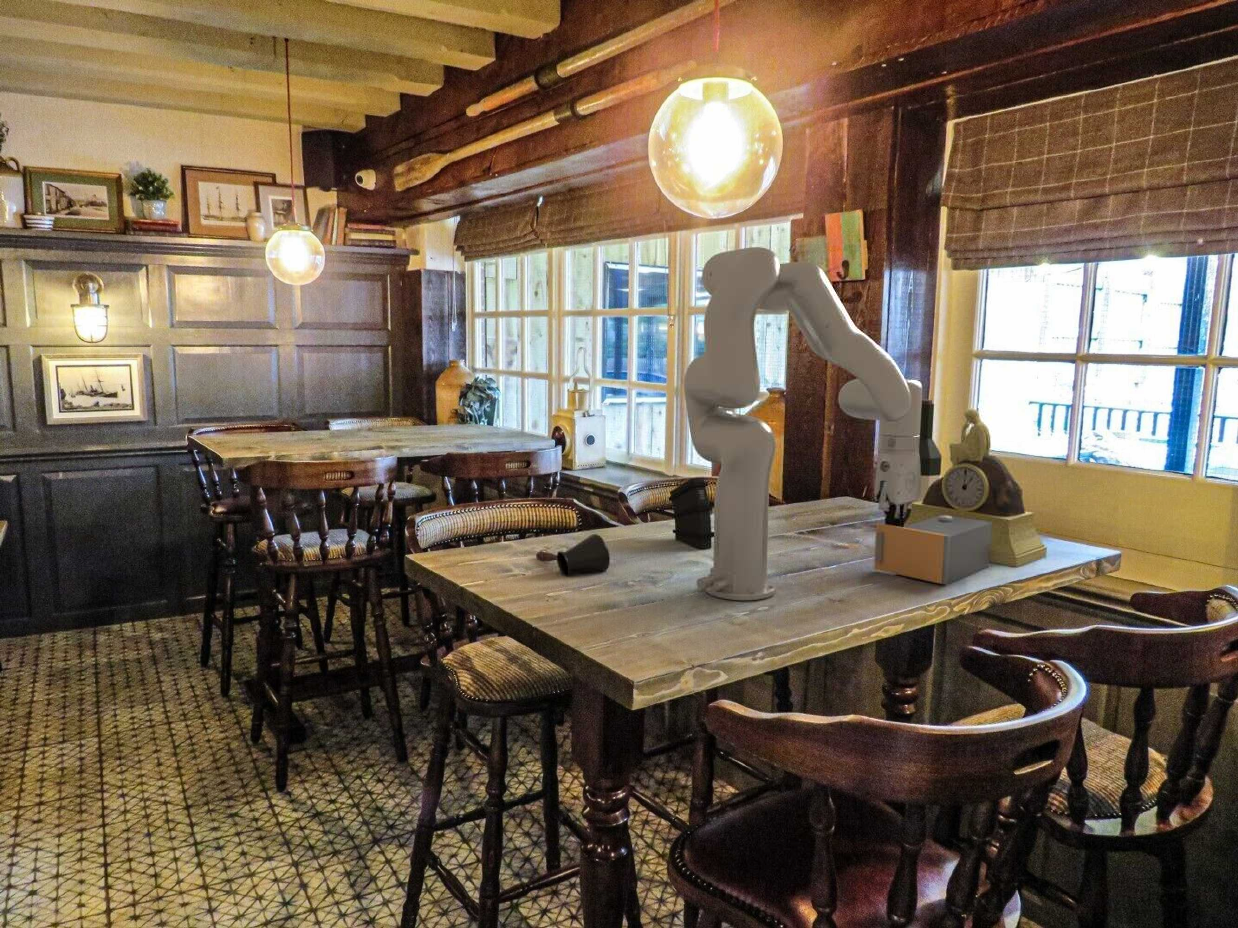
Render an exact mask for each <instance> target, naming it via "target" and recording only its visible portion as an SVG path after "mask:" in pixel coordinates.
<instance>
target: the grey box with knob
mask: <svg viewBox="0 0 1238 928" xmlns="http://www.w3.org/2000/svg"><path fill="white" fill-rule="evenodd" d="M991 527H992V522H986V521H980V520H973V519H967V518H961V517H954V516H948V515H940V516H937V517H934V518H931V519H927V520H924V521H921V522H918V523H915V524H911V525H908V526H905V527H904V528H910V529H916V530H921V531H927V532H933V533H938V534H944V535H950V542H949V559H948V576H947V584H941V583H936V582H932V581H927V580H923V579H918V578H913V577H909V576H904V575H900V574H896V575H898V576H902V577H906V578H911V579H915V580H920V581H925V582H928V583H933V584H937V585H943V586H948V585H950V584H952V583H955V582H957V581H959V580H963V579H964V578H967V577H969V576H971V575H974V574H976V573H978V572H980V571H983V570H986V569H987V568H989V567H990V561H989V558H990V542H991Z"/></svg>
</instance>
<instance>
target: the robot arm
mask: <svg viewBox="0 0 1238 928" xmlns="http://www.w3.org/2000/svg"><path fill="white" fill-rule="evenodd" d="M701 281H702V284H703V287H704V290H705V291H706V292H707V294H708V295H709V296H711V297H710V299H709V301H708V304H707V306H706V310H705V313H704V318H703V334H704V347H705V353H703V354H700V355H698V356H696V357H694V359H693V360H692V361H691V362H690V363H689V364H688V367H687V369H686V372H685V375H684V381H683V387H684V388H683V391H684V398H685V406H686V412H687V420H688V425H689V426H688V427H689V432H690V437H691V442H692V446H693V448H694V450H695V452H696V453H697V455H698V456H699V457H700V458H702V459H704V460H705V461H708V462H710V463H713V464H717V465H721V467H720V471H719V474H718V476H717V480H716V483H715V487H714V500H713V504H714V510H713V511H714V512H713V513H714V515H713V517H714V519H713V522H714V523H713V532H714V537H713V566H712V567H710V571H709V572H710V573H709V574H708V575H707V576H704V577H700V578H698V579H696V586H697V588H698V589H699V590H705V592H707V593H708V594H709V595H711V596H713V597H715V598H716V597H717V598H719V599H724V600H730V601H756V600H762V599H763V600H764V599H767V598H769V597H771V596H773V595H774V594H775V593H776V585H775V583H774V582H772V580H769V579H768V547H769V546H768V543H769V502H770V501H769V499H770V497H769V496H770V495H769V494H770V482H771V481H770V480H771V475H772V468H773V464H774V459H775V454H776V437H775V434H774V432H773V429H772V428H771V427H770V426H769V425H768V424H767V423H766V422H765V421H764V420H762V419H760V418H758V417H755V416H751V415H747V414H740V413H735V410H737V409H744V408H747V407H750V406H751V405H753V404H754V403H755V402H756V401H757V399H758V398H759V395H760V391H761V377H760V376H761V375H760V370H759V363H758V353H757V345H756V340H755V339H756V338H755V337H756V336H755V322H756V321H755V320H756V315H757V313H758V310H764V311H771V312H772V311H773V312H776V311H778V312H779V311H782V312H783V311H787V312H788V313H789V314H790V316H791V317H792V318H793V320H794V322H795V324H796V325H797V327H798V329H799V331H800V332H801V333H802V335H803V337H804V339H805V341H806V342H807V343H808V345H809V347H810V349H811V350H812V351H813V353H814V354H816V355H818V357H820V358H822V359H823V360H825V361H827V362H829V363H832V364H834V365H836V366H838V367H839V368H841V369H844V370H845V371H847V372H849V374H851V375H852V376H854V377H855V378H856V379H852V380H849V381H847V382H846V383H845V384H844V385H842V387H841V388H840V391H839V393H838V400H837V401H838V404H839V407H840V409H841V410H842V411H843V412H844V413H845V414H846V415H847V416H850V417H852V418H855V419H856V418H857V419H861V420H862V419H863V420H872V421H877V422H879V423H878V425H879V426H878V443H877V444H878V445H877V450H878V457H877V462H876V467H875V479H874V500H875V501H876V502H877V503H878V508H877V509H878V510H880V511H883V516H884V524H887V525H893V526H899V527H904V517H905V516H906V510H907V506H908V505H910V504H911V503H912V502H913V501H916V500H917V499H918V498H919V497H920V489H921V467H920V455H919V441H920V423H921V405H922V400H923V385H922V383H921V382H920V381H918V380H915V379H907V378H906V379H905V378H904V376H903V374H902V372H901V371H900V368H899V366H898V364H896V362H895V361H894V360H893V358H892V357H891V355H889V353H887V352H886V351H885V350H884V349H883V348H881V346H880V345H879V344H877V343H876V342H875V341H874V340H873V339H871V338H870V337H869V336H868V335H867V334H865V333H864V332H862V331H861V330H860V329H859V328H857V326H856V325H855V323H854V322H853V321H852V319H851V317H850V316H849V313H848V312H847V309H846V308H845V306H844V305H843V303H842V302H841V300H840V298H839V296H838V295H837V293H836V291H835V289H834V288H833V286H832V284H831V282H830V281H829V279H828V277H827V275H826V274H825V272H824V271H823V269H822V268H821V267H820V266H819V265H818V264H815V263H814V262H811V261H795V262H785V263H780V261H779V258H778V257H777V255H776V254H775V253H774V251H772V250H771V249H768V248H766V247H761V246H754V247H753V246H752V247H751V246H750V247H744V248H738V249H735V250H728V251H722V252H719V253H716V254H714V255H713V256H711V257H710V258H709V259H708V260H707V261H706V263H705V264H704V266H703V269H702V272H701Z"/></svg>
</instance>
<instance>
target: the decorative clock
mask: <svg viewBox="0 0 1238 928" xmlns="http://www.w3.org/2000/svg"><path fill="white" fill-rule="evenodd" d="M979 413H980V412H979V411H978V410H977V409H975V408H970V409H967V410H966V411H965V412H964V416H965V419H966V421H965V423H964V425H963V426H962V430H961V436H960V442H959V441H958V442H957V441H955V442H951V443H949V453H950V457H949V458H950V459H949V460H950V462H951V464H952V466H951V467H950V468H949V469H948V470H947V471H946V472H945V474H943V476H942V477H940V479H937V480H936V481H934V482H933V483H932V484H931V486H930V487H929V488H928V490H927V493H926V495H925V497H924V500H923V501H920V502H916V503H912V509H911V513H910V516H909V518H908V520H907V521H906V522H905V524H904V527H905V526H908V525H911V524H915V523H918V522H921V521H924V520H927V519H931V518H934V517H937V516H940V515H948V516H954V517H961V518H967V519H973V520H980V521H986V522H992V527H991V542H990V558H989V563H990V562H991V563H994V564H995V563H996V564H1000V565H1004V566H1008V567H1009V566H1010V567H1015V568H1019V567H1020V566H1023V565H1027V564H1029V563H1031V562H1033V561H1037V560H1040V559H1042V558H1046V557H1047V546H1045V544H1044V543H1043V541H1042V540H1041V539H1040V537H1039V535H1038V532H1037V530H1036V528H1035V521H1034V519H1035V512H1031V511H1026V509H1025V506H1024V505H1025V504H1024V500H1023V488H1021V487H1020V485H1019V484H1018V482H1016V480H1015V479H1014V478H1013V476H1012V474H1011V472H1010V471H1009V470H1008V468H1007V466H1006V465H1005V463H1003V462H1002V461H1001V459H1000V458H998V457H997V456H996V455H992V454H990V450H991V433H990V430H989V428H988V426H987V425H986V424H985V423H984V422H983V421H982V419H981V417H980V414H979ZM971 424H972V425H973V426H972V427H970V429H969V430H968V433H967V429H968V428H969V426H970V425H971Z"/></svg>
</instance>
